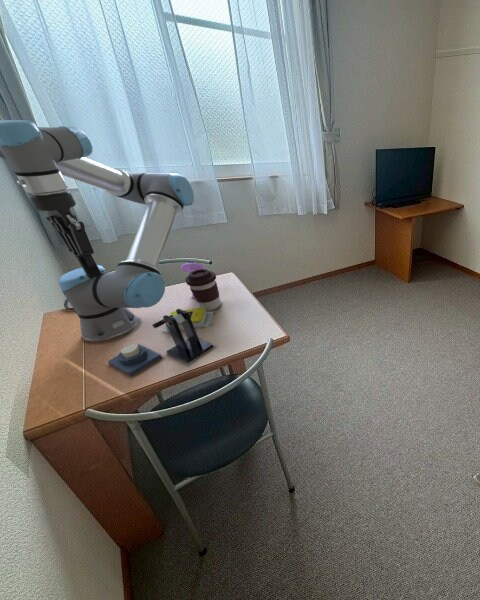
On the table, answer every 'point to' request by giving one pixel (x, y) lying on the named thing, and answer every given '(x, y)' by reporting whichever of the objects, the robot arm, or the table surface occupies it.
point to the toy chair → (191, 268)
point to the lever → (178, 317)
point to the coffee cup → (204, 288)
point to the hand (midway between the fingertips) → (94, 275)
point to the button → (130, 351)
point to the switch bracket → (185, 348)
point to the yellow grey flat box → (195, 318)
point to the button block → (135, 361)
